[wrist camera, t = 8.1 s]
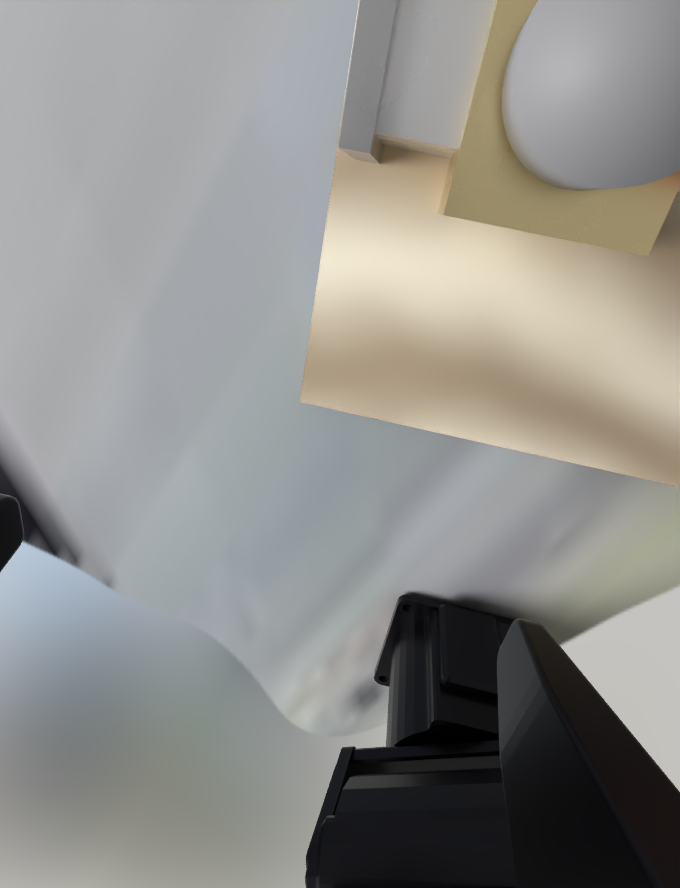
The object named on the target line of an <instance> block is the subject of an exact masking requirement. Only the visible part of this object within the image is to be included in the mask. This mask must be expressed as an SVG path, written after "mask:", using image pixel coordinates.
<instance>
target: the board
mask: <svg viewBox="0 0 680 888" xmlns="http://www.w3.org/2000/svg"><path fill="white" fill-rule="evenodd" d="M358 6H359V4H358ZM357 13H358V11H357ZM356 20H357V18H356ZM355 27H356V25H355ZM354 33H355V31H354ZM353 40H354V38H353ZM352 47H353V45H352ZM351 54H352V52H351ZM350 60H351V58H350ZM349 67H350V65H349ZM348 74H349V72H348ZM347 81H348V78H347ZM346 87H347V85H346ZM345 94H346V92H345ZM344 101H345V99H344ZM343 108H344V105H343ZM342 114H343V112H342ZM341 121H342V119H341ZM340 133H341V126H340V132H339V139H340ZM339 139H338V146H339ZM338 146H337V153H336V159H335V166H334V173H333V180H332V186H331V193H330V200H329V207H328V213H327V220H326V227H325V234H324V240H323V247H322V254H321V261H320V267H319V274H318V281H317V288H316V294H315V301H314V308H313V315H312V321H311V328H310V335H309V342H308V348H307V355H306V362H305V369H304V375H303V382H302V389H301V396H300V402H303V403H307V404H312V405H316V406H320V407H325V408H329V409H334V410H338V411H343V412H347V413H352V414H356V415H361V416H365V417H370V418H374V419H379V420H383V421H388V422H392V423H396V424H401V425H405V426H410V427H414V428H419V429H423V430H428V431H432V432H437V433H441V434H446V435H450V436H455V437H459V438H464V439H468V440H472V441H477V442H481V443H486V444H490V445H495V446H499V447H504V448H508V449H513V450H517V451H522V452H526V453H531V454H535V455H540V456H544V457H548V458H553V459H557V460H562V461H566V462H571V463H575V464H580V465H584V466H589V467H593V468H598V469H602V470H607V471H611V472H616V473H620V474H624V475H629V476H633V477H638V478H642V479H647V480H651V481H656V482H660V483H665V484H669V485H674V486H678V487H680V204H679V203H674V202H673V203H672V205H671V207H670V209H669V211H668V214H667V216H666V218H665V220H664V222H663V225H662V227H661V229H660V231H659V233H658V236H657V238H656V240H655V242H654V244H653V247H652V249H651V251H650V253H649V255H648V256H643V255H638V254H633V253H628V252H623V251H618V250H613V249H608V248H603V247H598V246H593V245H589V244H584V243H579V242H574V241H569V240H564V239H559V238H554V237H549V236H544V235H539V234H534V233H529V232H524V231H519V230H514V229H509V228H504V227H499V226H494V225H489V224H484V223H479V222H474V221H470V220H465V219H460V218H455V217H450V216H445V215H442V214H440V213H437V212H438V208H439V204H440V200H441V196H442V192H443V188H444V184H445V179H446V175H447V171H448V167H449V163H450V158H445V157H439V156H434V155H429V154H424V153H419V152H414V151H409V150H404V149H399V148H393V147H388V146H383V150H382V155H381V160H380V164H377V163H372V162H367V161H362V160H357V159H354V158H352V157H351V156H350V155H348V154H347V153H345V152H344V151H343V150H341V149H340V148H338Z"/></svg>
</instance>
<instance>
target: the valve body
mask: <svg viewBox="0 0 680 888" xmlns="http://www.w3.org/2000/svg"><path fill="white" fill-rule="evenodd" d="M537 1H538V0H359V6H358V13H357V20H356V27H355V33H354V40H353V47H352V54H351V60H350V67H349V74H348V81H347V87H346V94H345V101H344V108H343V114H342V121H341V133H340V139H339V146H338V148H340V149H341V150H343V151H344V152H345V153H347V154H348V155H350V156H351V157H352V158H354V159H357V160H362V161H367V162H372V163H377V164H380V160H381V155H382V150H383V146H388V147H393V148H399V149H404V150H409V151H414V152H419V153H424V154H429V155H434V156H439V157H445V158H450V163H449V167H448V171H447V175H446V179H445V184H444V188H443V192H442V196H441V200H440V204H439V208H438V212H437V213H440V214H442V215H445V216H450V217H455V218H460V219H465V220H470V221H474V222H479V223H484V224H489V225H494V226H499V227H504V228H509V229H514V230H519V231H524V232H529V233H534V234H539V235H544V236H549V237H554V238H559V239H564V240H569V241H574V242H579V243H584V244H589V245H593V246H598V247H603V248H608V249H613V250H618V251H623V252H628V253H633V254H638V255H643V256H648V255H649V253H650V251H651V249H652V247H653V244H654V242H655V240H656V238H657V236H658V233H659V231H660V229H661V227H662V225H663V222H664V220H665V218H666V216H667V214H668V211H669V209H670V207H671V205H672V203H673V202H674V203H679V204H680V170H679V171H677V172H676V173H674V174H671V175H669V176H667V177H664V178H662V179H660V180H657V181H654V182H650V183H647V184H644V185H639V186H633V187H626V188H613V189H600V190H585V191H574V190H565V189H561V188H558V187H554V186H552V185H549V184H547V183H545V182H543V181H541V180H540V179H538V178H537V177H535V176H534V175H533V174H531V173H530V172H529V171H528V170H527V169H526V168H525V167H524V166H523V164H522V163H521V162H520V161H519V160H518V158H517V156H516V155H515V153H514V151H513V149H512V147H511V145H510V143H509V140H508V138H507V134H506V131H505V127H504V122H503V114H502V89H503V80H504V75H505V71H506V66H507V63H508V59H509V56H510V53H511V50H512V48H513V45H514V43H515V41H516V39H517V36H518V34H519V32H520V30H521V29H522V27H523V25H524V23H525V22H526V20H527V18H528V16H529V15H530V13H531V11H532V10H533V8H534V6H535V5H536V3H537Z"/></svg>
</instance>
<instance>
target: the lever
mask: <svg viewBox="0 0 680 888" xmlns="http://www.w3.org/2000/svg"><path fill="white" fill-rule="evenodd" d="M502 114H503V122H504V127H505V131H506V134H507V138H508V140H509V143H510V145H511V147H512V149H513V151H514V153H515V155H516V156H517V158H518V160H519V161H520V162H521V163H522V164H523V166H524V167H525V168H526V169H527V170H528V171H529V172H530V173H531V174H533V175H534V176H535V177H537V178H538V179H540V180H541V181H543V182H545V183H547V184H549V185H552V186H554V187H558V188H561V189H565V190H574V191H585V190H600V189H613V188H626V187H633V186H639V185H644V184H647V183H650V182H654V181H657V180H660V179H662V178H664V177H667V176H669V175H671V174H674V173H676V172H677V171H679V170H680V0H538V1H537V3H536V5H535V6H534V8H533V10H532V11H531V13H530V15H529V16H528V18H527V20H526V22H525V23H524V25H523V27H522V29H521V30H520V32H519V34H518V36H517V39H516V41H515V43H514V45H513V48H512V50H511V53H510V56H509V59H508V63H507V66H506V71H505V75H504V80H503V89H502Z"/></svg>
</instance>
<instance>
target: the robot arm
mask: <svg viewBox="0 0 680 888" xmlns="http://www.w3.org/2000/svg"><path fill="white" fill-rule="evenodd" d="M23 537H24V529H23V523H22V517H21V512H20V506H19V502H18V501H17V499H16V498H14V497H12V496H9V495H4V494H0V572H1V570H2V569H3V568H4V566H5V565H6V564H7V563H8V561H9V560H10V559H11V557H12V556H13V554H14V553H15V552H16V551H17V549H18V548H19V546H20V545H21V543H22V540H23ZM405 604H409V605H410V606H406V605H405ZM374 679H375V681H376V682H377V683H378V684H381V685H385V686H389V704H388V721H387V739H386V747H376V748H362V749H356V748H355V747H343V748H342V749H341V752H340V755H339V758H338V762H337V764H336V767H335V769H334V772H333V775H332V779H331V781H330V784H329V787H328V790H327V793H326V796H325V799H324V803H323V806H322V809H321V812H320V815H319V818H318V821H317V824H316V827H315V830H314V833H313V836H312V839H311V842H310V845H309V848H308V851H307V855H306V868H307V870H306V876H305V883H306V888H680V792H679V791H678V789H677V788H676V787H675V786H674V784H673V783H672V782H671V781H670V780H669V778H668V777H667V776H666V775H665V773H664V772H663V771H662V770H661V769H660V767H659V766H658V765H657V764H656V763H655V761H654V760H653V759H652V758H651V756H650V755H649V754H648V753H647V752H646V750H645V749H644V748H643V747H642V745H641V744H640V743H639V742H638V741H637V739H636V738H635V737H634V736H633V734H632V733H631V732H630V731H629V730H628V729H627V727H626V726H625V725H624V724H623V722H622V721H621V720H620V719H619V718H618V716H617V715H616V714H615V713H614V711H613V710H612V709H611V708H610V707H609V705H608V704H607V703H606V702H605V701H604V699H603V698H602V697H601V696H600V694H599V693H598V692H597V691H596V689H595V688H594V687H593V686H592V685H591V683H590V682H589V681H588V680H587V679H586V677H585V676H584V675H583V674H582V672H581V671H580V670H579V669H578V668H577V666H576V665H575V664H574V663H573V661H572V660H571V659H570V658H569V657H568V655H567V654H566V653H565V652H564V650H563V649H562V648H561V647H560V646H559V644H558V643H557V642H556V641H555V640H554V638H553V637H552V636H551V635H550V633H549V632H548V631H547V630H546V629H545V627H544V626H543V625H541V624H540V623H537V622H533V621H529V620H525V619H521V618H519V619H516V620H513V619H508V618H504V617H500V616H496V615H492V614H488V613H483V612H479V611H475V610H471V609H467V608H463V607H459V606H454V605H450V604H446V603H442V602H438V601H434V600H429V599H425V598H421V597H417V596H413V595H402V596H400V597H399V599H398V601H397V604H396V607H395V610H394V613H393V616H392V619H391V622H390V625H389V628H388V632H387V635H386V638H385V641H384V644H383V647H382V650H381V653H380V656H379V659H378V662H377V666H376V669H375V675H374Z"/></svg>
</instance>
